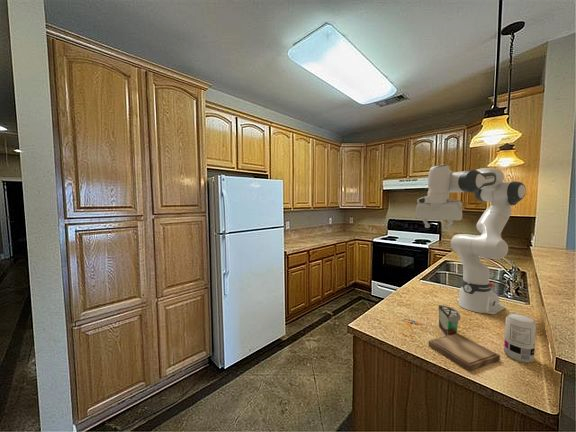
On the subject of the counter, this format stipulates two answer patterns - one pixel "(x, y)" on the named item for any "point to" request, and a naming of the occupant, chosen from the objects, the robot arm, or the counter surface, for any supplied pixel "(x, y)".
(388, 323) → the counter surface
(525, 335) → the supplement can
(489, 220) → the robot arm
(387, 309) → the counter surface
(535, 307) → the counter surface
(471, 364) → the base
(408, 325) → the key chain
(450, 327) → the food container
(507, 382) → the counter surface
